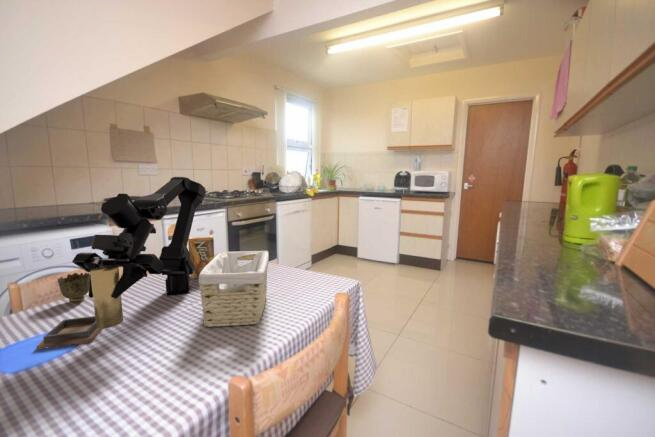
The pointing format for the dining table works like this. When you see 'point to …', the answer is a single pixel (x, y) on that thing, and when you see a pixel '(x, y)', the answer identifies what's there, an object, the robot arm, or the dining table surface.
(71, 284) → the cup
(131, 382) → the dining table surface
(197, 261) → the candy box
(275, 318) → the dining table surface
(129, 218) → the robot arm
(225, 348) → the dining table surface
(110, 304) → the billet
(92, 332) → the square brown tray
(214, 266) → the storage basket
